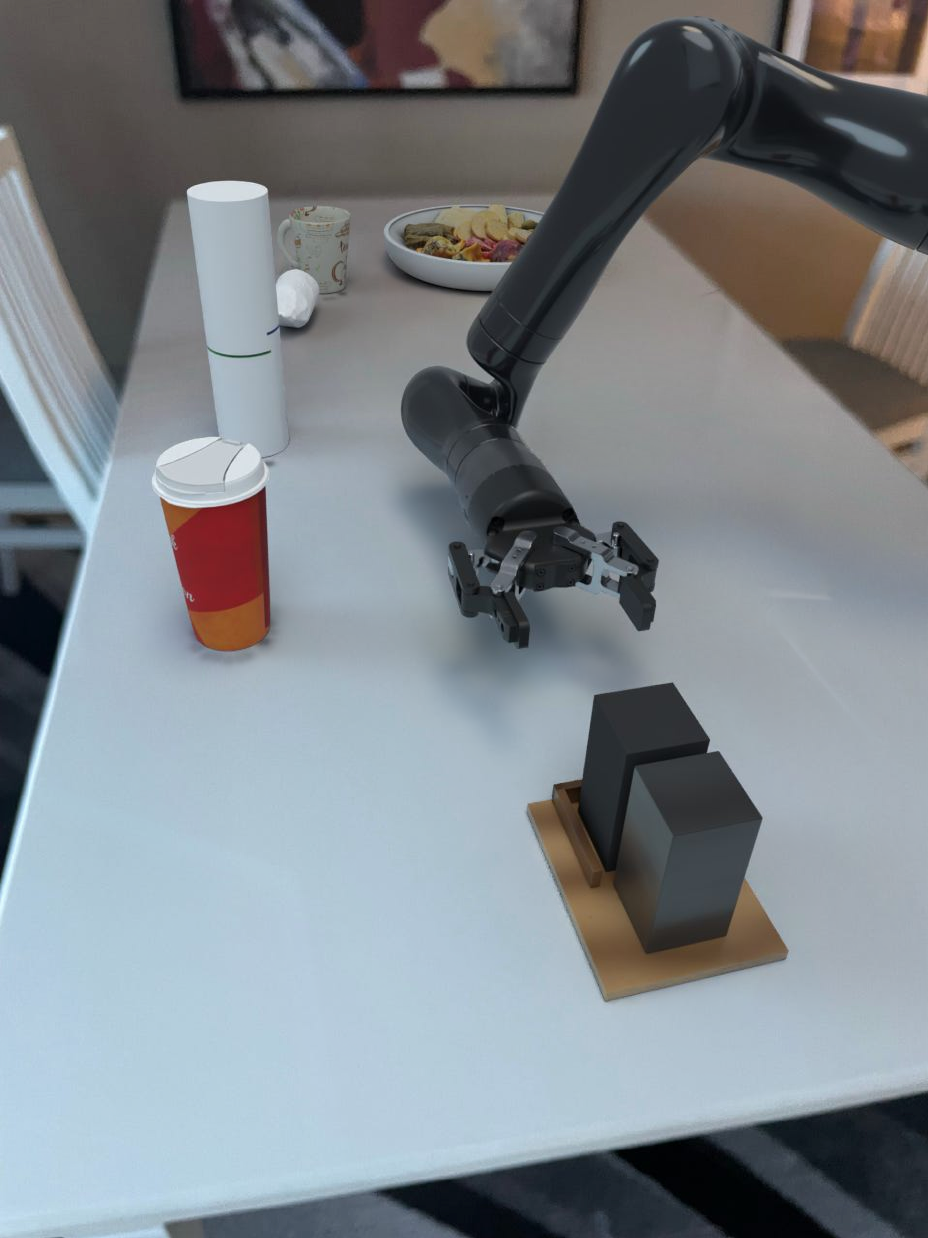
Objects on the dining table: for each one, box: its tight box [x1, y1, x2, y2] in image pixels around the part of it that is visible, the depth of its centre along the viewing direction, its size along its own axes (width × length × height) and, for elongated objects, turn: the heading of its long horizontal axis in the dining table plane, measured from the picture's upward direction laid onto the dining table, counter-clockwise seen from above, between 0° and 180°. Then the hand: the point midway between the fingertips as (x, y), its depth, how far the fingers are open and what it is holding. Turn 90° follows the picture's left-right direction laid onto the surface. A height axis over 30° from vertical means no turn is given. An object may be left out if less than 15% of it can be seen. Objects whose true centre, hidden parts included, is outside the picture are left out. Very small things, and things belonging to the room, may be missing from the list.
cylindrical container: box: [186, 180, 290, 458], centre depth 97 cm, size 7×7×25 cm
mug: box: [276, 205, 351, 295], centre depth 141 cm, size 8×13×10 cm, turn 58°
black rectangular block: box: [578, 682, 711, 872], centre depth 60 cm, size 5×5×10 cm
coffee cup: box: [151, 436, 271, 652], centre depth 75 cm, size 8×8×15 cm
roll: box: [276, 268, 320, 329], centre depth 130 cm, size 6×12×6 cm, turn 178°
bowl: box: [383, 203, 545, 292], centre depth 151 cm, size 30×30×8 cm
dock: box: [526, 750, 790, 1002], centre depth 58 cm, size 14×11×11 cm
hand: (586, 629), depth 65 cm, fingers open, 8 cm apart
